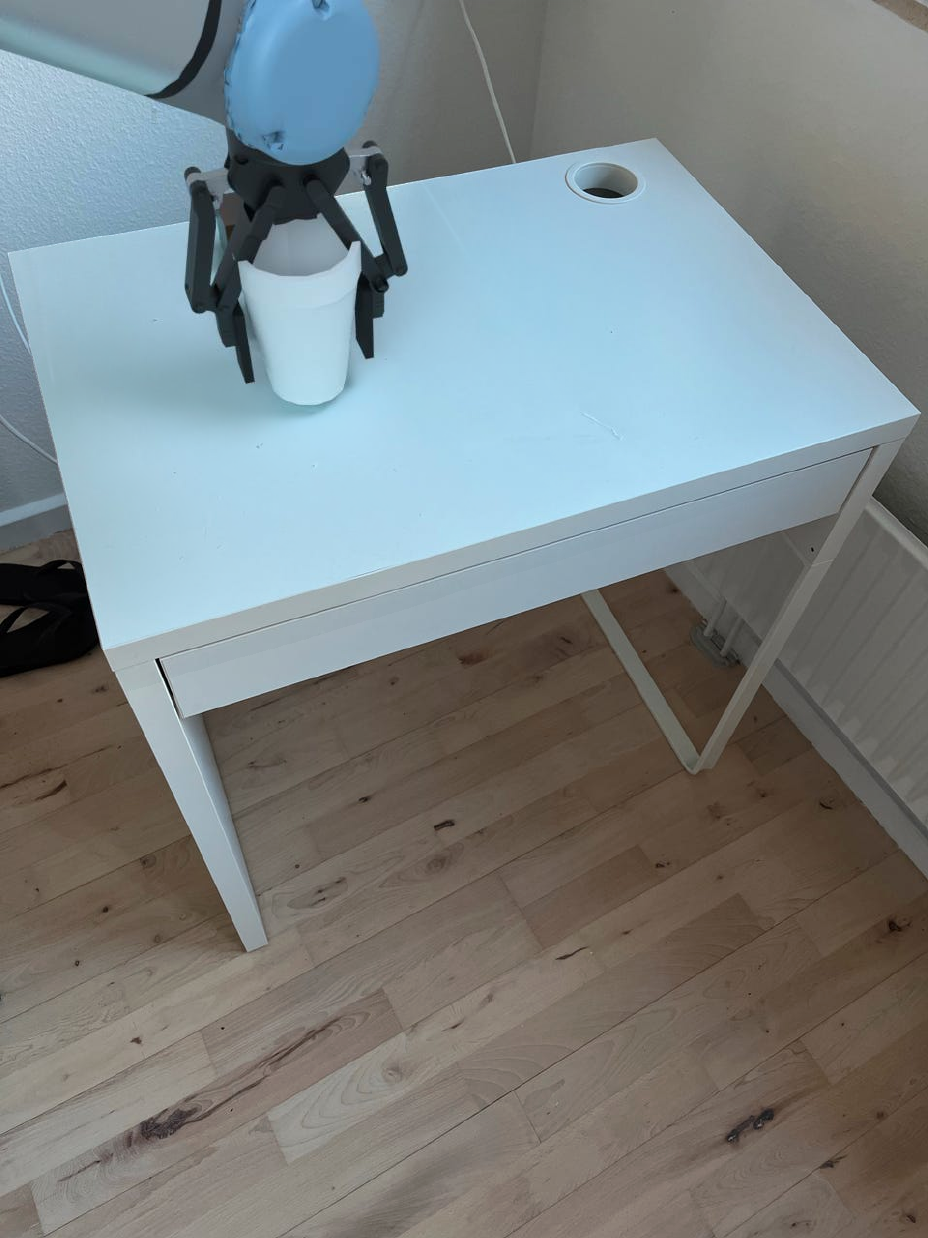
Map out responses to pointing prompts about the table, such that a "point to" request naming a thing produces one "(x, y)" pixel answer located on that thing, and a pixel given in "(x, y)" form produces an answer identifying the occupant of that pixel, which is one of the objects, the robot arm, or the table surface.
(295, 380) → the foam cup
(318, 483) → the table surface
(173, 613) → the table surface
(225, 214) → the walnut block far
